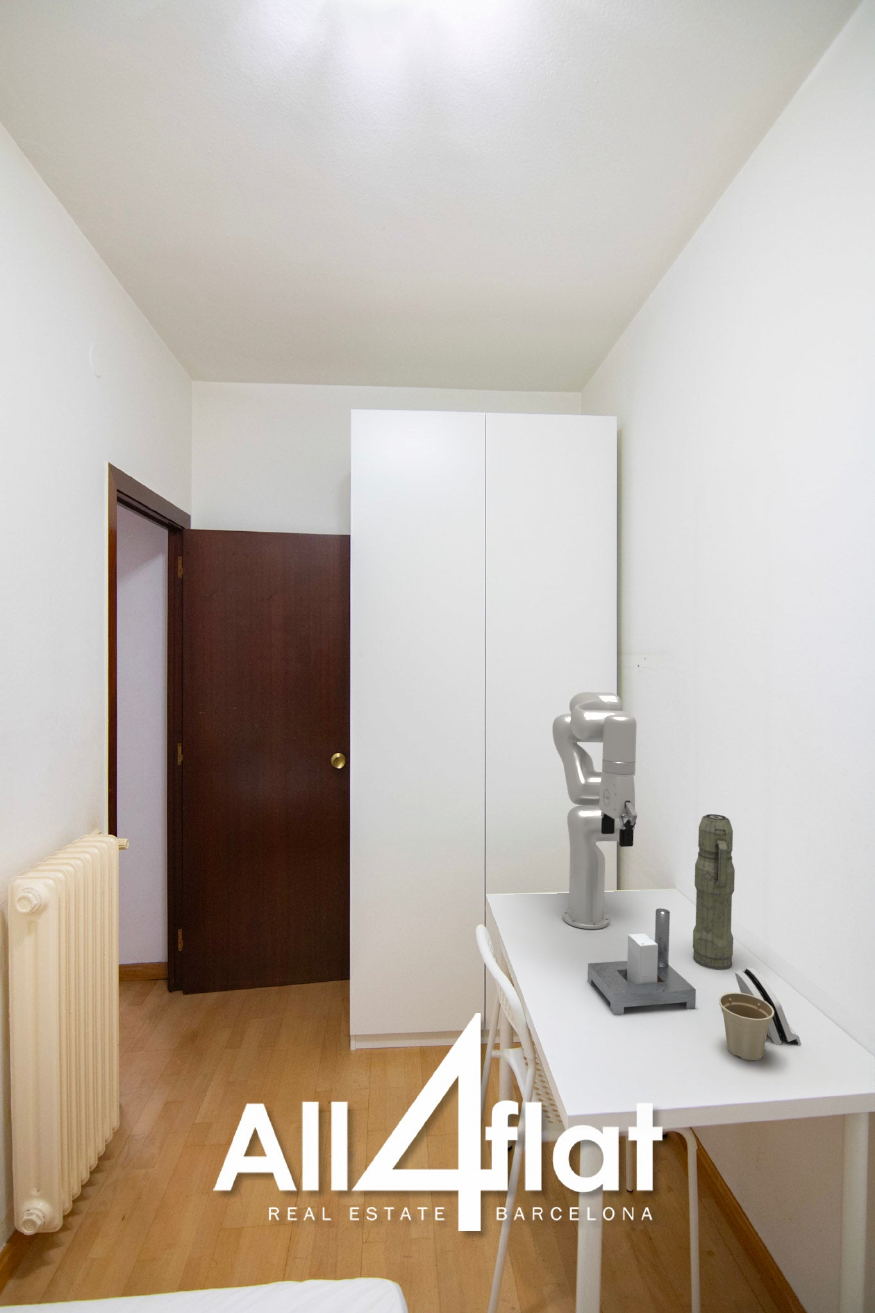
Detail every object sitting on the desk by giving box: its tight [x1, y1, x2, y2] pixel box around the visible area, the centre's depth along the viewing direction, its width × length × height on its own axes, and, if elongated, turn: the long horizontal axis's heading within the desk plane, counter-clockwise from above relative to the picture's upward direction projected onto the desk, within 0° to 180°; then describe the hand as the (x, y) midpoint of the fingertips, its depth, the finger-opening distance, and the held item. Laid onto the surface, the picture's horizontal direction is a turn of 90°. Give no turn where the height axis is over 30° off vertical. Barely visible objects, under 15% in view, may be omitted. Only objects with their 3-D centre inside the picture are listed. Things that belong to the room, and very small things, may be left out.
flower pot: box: [718, 992, 774, 1061], centre depth 125 cm, size 9×9×9 cm
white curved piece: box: [734, 967, 802, 1046], centre depth 135 cm, size 17×5×10 cm, turn 175°
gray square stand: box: [586, 907, 697, 1016], centre depth 145 cm, size 14×18×16 cm
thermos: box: [692, 813, 736, 971], centre depth 161 cm, size 9×12×35 cm
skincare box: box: [626, 933, 658, 985], centre depth 145 cm, size 6×4×12 cm
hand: (616, 839), depth 157 cm, fingers open, 9 cm apart
